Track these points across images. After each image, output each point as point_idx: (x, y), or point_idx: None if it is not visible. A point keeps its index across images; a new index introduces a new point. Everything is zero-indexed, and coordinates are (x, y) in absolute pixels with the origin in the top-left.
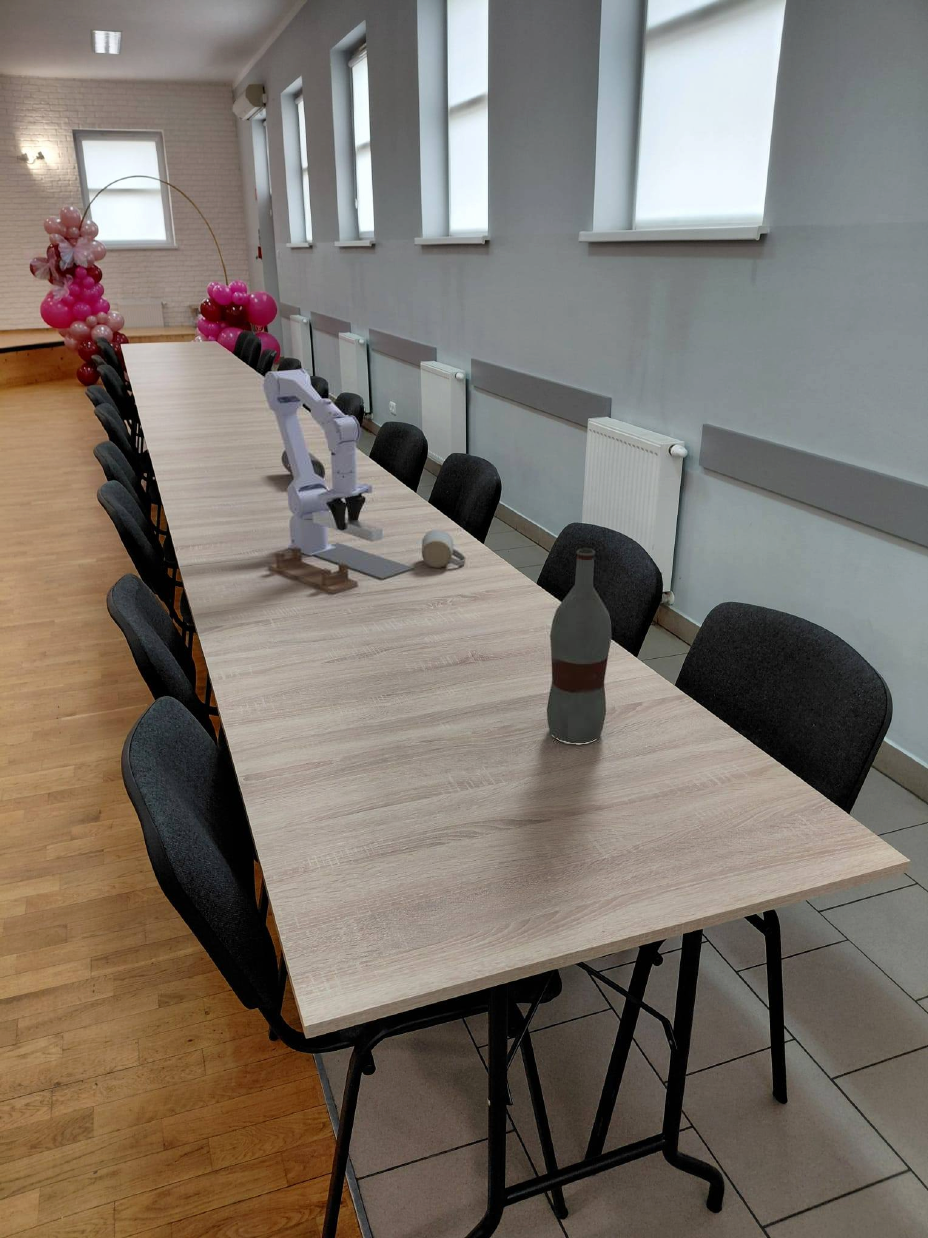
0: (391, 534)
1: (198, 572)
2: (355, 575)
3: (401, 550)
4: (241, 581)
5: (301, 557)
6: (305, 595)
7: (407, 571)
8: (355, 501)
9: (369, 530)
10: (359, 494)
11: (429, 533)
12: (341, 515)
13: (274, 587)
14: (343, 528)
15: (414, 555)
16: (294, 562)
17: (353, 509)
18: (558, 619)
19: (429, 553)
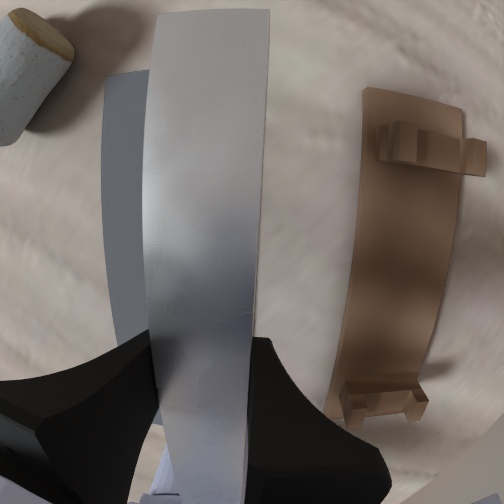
0: (10, 355)
1: (462, 446)
2: (291, 174)
3: (31, 252)
4: (485, 370)
5: (347, 388)
6: (498, 174)
7: (135, 73)
8: (76, 448)
9: (267, 39)
10: (2, 471)
11: None
12: (302, 396)
13: (494, 288)
14: (264, 340)
15: (29, 188)
16: (372, 380)
17: (119, 414)
18: None
19: (52, 36)
